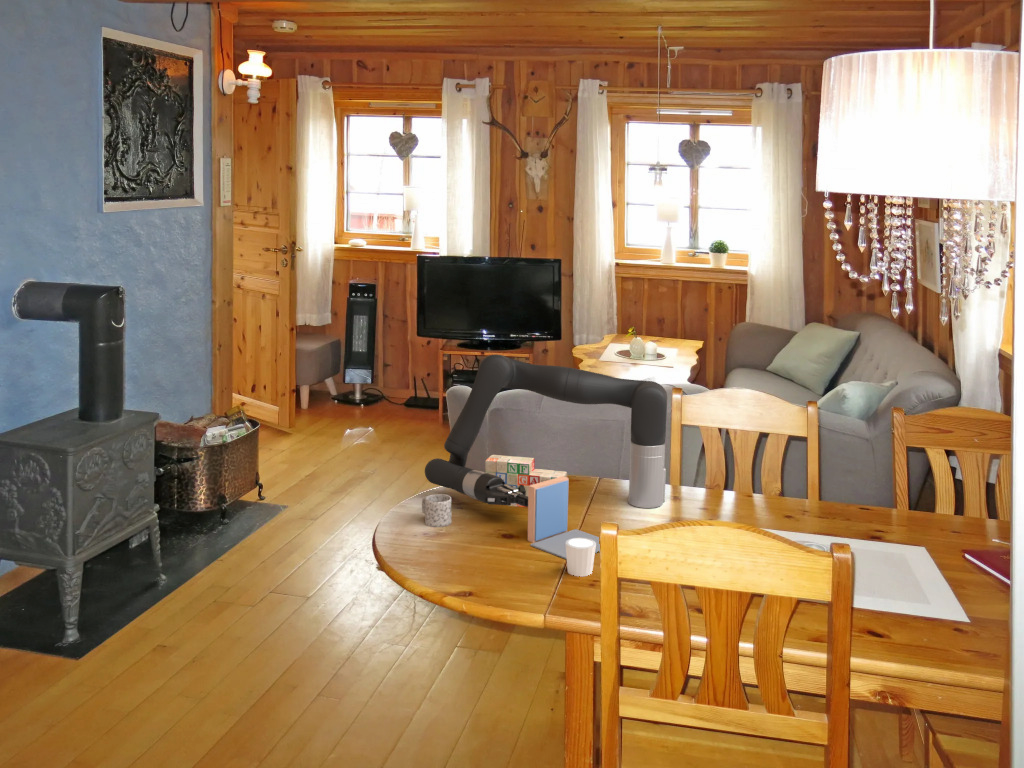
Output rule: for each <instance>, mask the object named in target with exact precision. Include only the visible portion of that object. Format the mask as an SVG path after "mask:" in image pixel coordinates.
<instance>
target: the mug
mask: <svg viewBox="0 0 1024 768" xmlns="http://www.w3.org/2000/svg"><path fill="white" fill-rule="evenodd" d="M421 511H422V513H423V514H424V516H425V517H424V521H425V522H424V523H425V525H426V526H428V527H431V528H444V527H448V526H450V525H451V524H452V497H451V496H450V495H449V494H444V493H433V494H429V495H427V496H426V495H425V496H423V497H422V498H421Z"/></svg>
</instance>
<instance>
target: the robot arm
mask: <svg viewBox="0 0 1024 768" xmlns="http://www.w3.org/2000/svg"><path fill="white" fill-rule="evenodd" d="M475 376H476V377H475V379H474V382H473V385H472V388H471V391H470V392H469V396H468V398H467V400H466V402H465V404H464V405H463V408H462V409H461V411H460V413H459V415H458V417H457V419H456V420H455V422H454V424H453V426H452V428H451V430H450V432H449V434H448V436H447V438H446V439H445V442H444V446H443V447H444V450H445V451H446V452H448V453H449V458H448V460H445V459H444V458H443V459H442V458H433V459H431V460H430V461H428V462H427V463H426V464H425V467H424V476H425V479H426V480H427V481H428V482H429V483H431V484H432V485H437V486H441V487H442V488H446V489H451V490H454V491H456V492H458V493H460V494H462V495H466V496H468V497H470V498H471V499H473V500H477V501H479V502H482V503H485V504H487V505H492V506H493V505H494V506H495V505H498V506H507V505H508V506H509V505H511V504H515V505H516V504H519V505H522V506H525V507H524V508H528V496H526V490H525V487H524V485H519V487H518V488H514V487H513V486H510V485H507V484H505V482H504V481H503V479H502V478H500V477H498V476H495V475H492V474H489V473H486V472H485V471H481V470H476V469H473V468H470V467H466V464H467V460H468V455H469V453H470V451H471V449H472V447H473V445H474V443H475V441H476V439H477V437H478V435H479V432H480V430H481V428H482V425H483V423H484V419H485V417H486V416H487V412H488V411H489V408H490V407H491V404H492V402H493V401H494V399H495V398H496V396H497V394H498V393H499V392H500V391H501V389H513V390H514V389H515V390H522V391H529V392H533V393H536V394H538V395H541V396H543V397H544V396H545V397H547V398H550V399H554V400H558V401H562V402H566V403H573V404H578V405H617V406H622V407H625V408H629V409H631V413H630V450H629V451H630V452H629V455H630V456H629V458H630V459H629V477H628V480H629V481H628V482H629V483H628V500H627V501H628V504H630V505H632V506H634V507H636V508H643V509H644V508H645V509H653V508H660V507H661V506H662V505H663V503H665V500H666V499H665V498H666V496H665V495H666V478H667V476H666V475H667V469H666V467H665V459H666V458H665V457H666V456H665V455H666V437H667V436H666V435H667V412H668V393H667V391H666V389H665V387H663V386H662V385H661V384H660V383H658V382H656V381H652V380H639V379H627V378H620V377H613V376H611V375H610V376H609V375H607V374H603V373H600V372H599V373H598V372H594V371H590V370H589V371H588V370H585V369H579V368H575V367H567V366H561V365H550V364H549V365H545V364H532V363H528V362H524V361H520V360H517V359H514V358H511V357H508V356H506V355H502V354H490V355H486V357H484V358H483V359H482V360H481V361H480V363H479V366H478V371H477V373H476V375H475ZM509 507H510V506H509Z"/></svg>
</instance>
